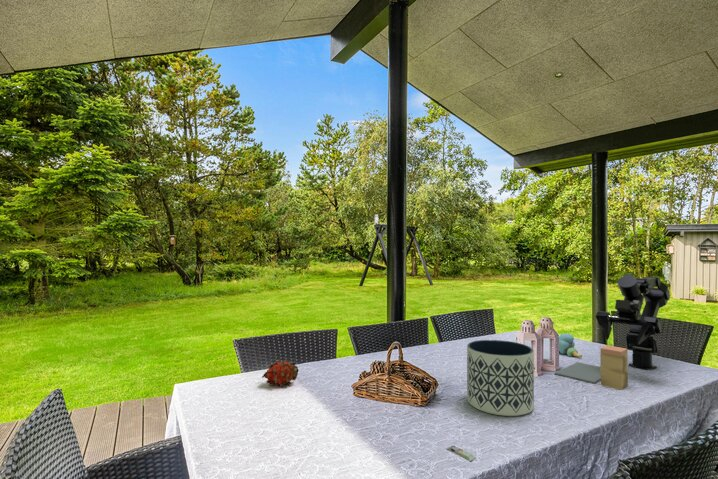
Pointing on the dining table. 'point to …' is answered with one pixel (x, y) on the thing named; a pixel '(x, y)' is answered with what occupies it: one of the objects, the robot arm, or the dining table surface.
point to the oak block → (614, 367)
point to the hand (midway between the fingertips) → (621, 341)
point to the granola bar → (461, 452)
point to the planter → (500, 377)
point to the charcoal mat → (582, 372)
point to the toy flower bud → (567, 345)
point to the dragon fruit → (281, 373)
